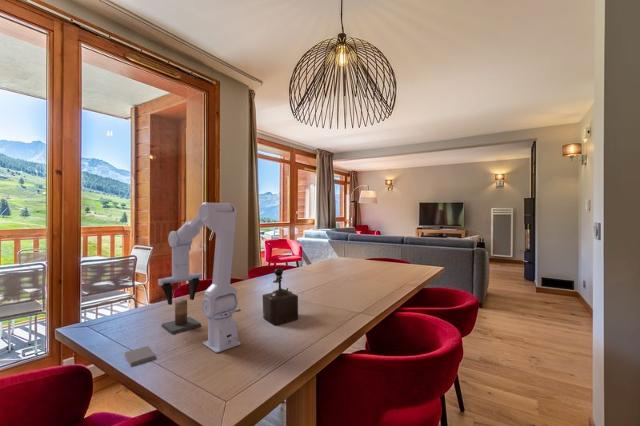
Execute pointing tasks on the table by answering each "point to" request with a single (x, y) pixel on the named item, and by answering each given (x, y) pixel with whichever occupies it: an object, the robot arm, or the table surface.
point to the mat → (180, 326)
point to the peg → (180, 312)
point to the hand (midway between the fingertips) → (181, 301)
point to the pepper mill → (280, 304)
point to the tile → (139, 355)
